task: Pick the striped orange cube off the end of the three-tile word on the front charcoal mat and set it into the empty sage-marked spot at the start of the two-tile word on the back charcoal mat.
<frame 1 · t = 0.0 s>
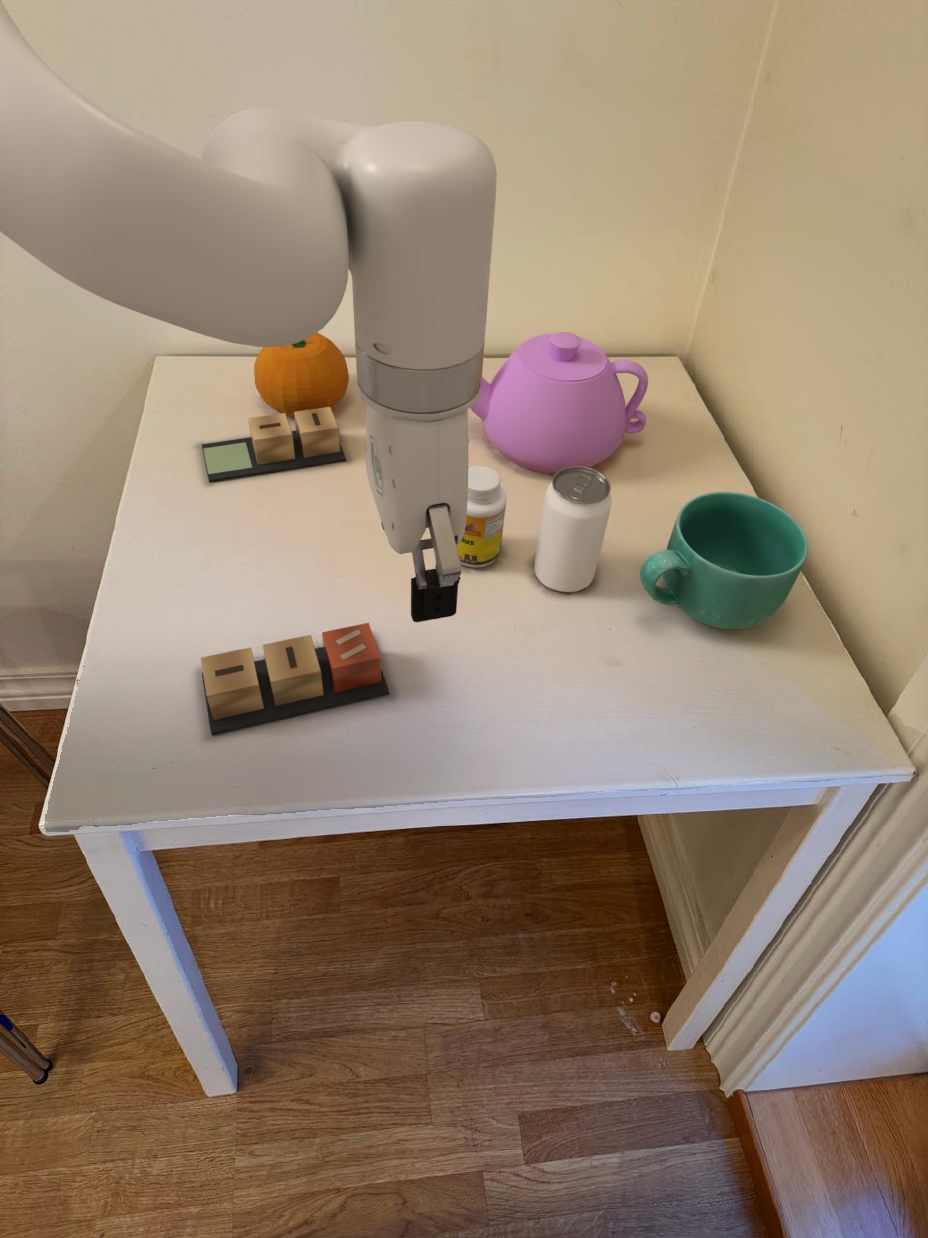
hand: (417, 569, 62), 18 cm above the table, tool pointing down, fingers open, 9 cm apart
fruit: (304, 402, 107), on the table
supplement bottle: (474, 553, 90), on the table
can: (563, 574, 88), on the table
mug: (698, 604, 86), on the table
teapot: (541, 438, 104), on the table
striped orange cube: (352, 669, 77), resting on front mat
front mat: (295, 684, 76), on the table
front tile 1: (235, 695, 75), resting on front mat
back mat: (273, 453, 99), on the table
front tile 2: (295, 682, 76), resting on front mat
pair of dash-marked blocks: (296, 447, 99), resting on back mat
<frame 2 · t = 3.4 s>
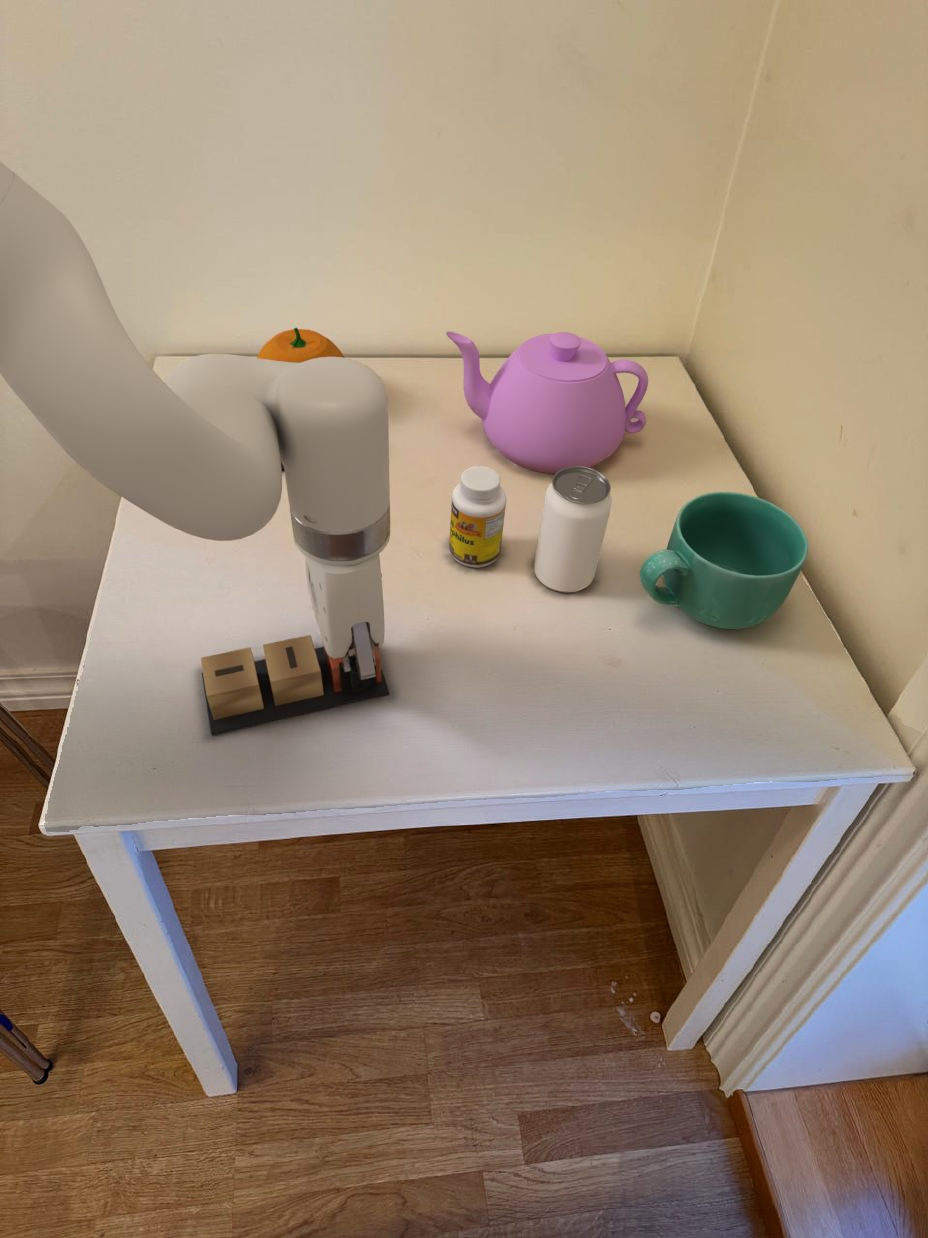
hand: (352, 665, 77), 1 cm above the table, tool pointing down, fingers closed on striped orange cube, 4 cm apart
striped orange cube: (352, 669, 77), resting on front mat, touching gripper
everything else where it was.
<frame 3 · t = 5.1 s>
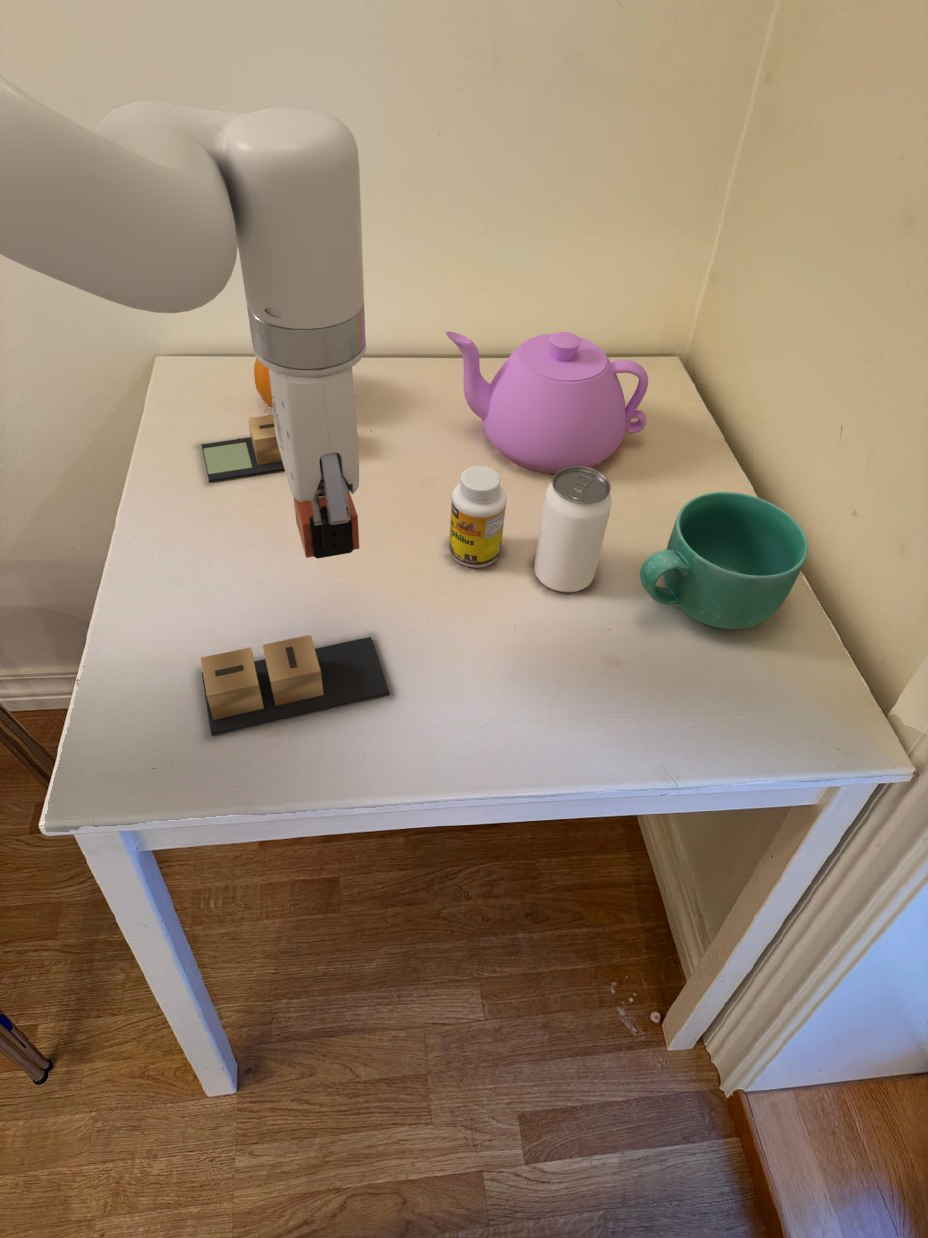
hand: (326, 530, 68), 15 cm above the table, tool pointing down, fingers closed on striped orange cube, 4 cm apart
striped orange cube: (327, 535, 69), point 15 cm above the table, touching gripper
everything else where it was.
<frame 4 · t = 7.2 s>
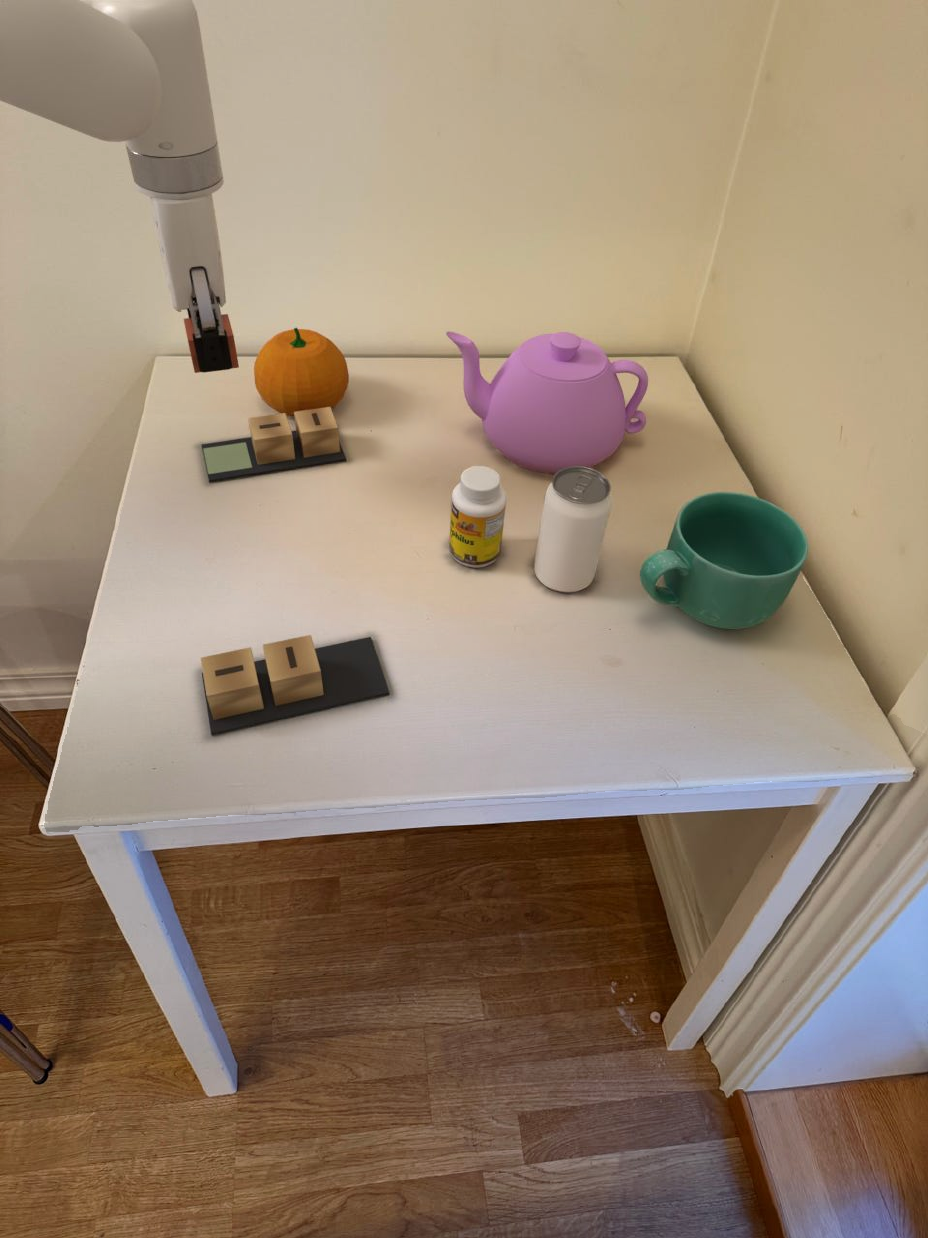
hand: (212, 354, 85), 15 cm above the table, tool pointing down, fingers closed on striped orange cube, 4 cm apart
striped orange cube: (214, 359, 85), point 15 cm above the table, touching gripper
everything else where it was.
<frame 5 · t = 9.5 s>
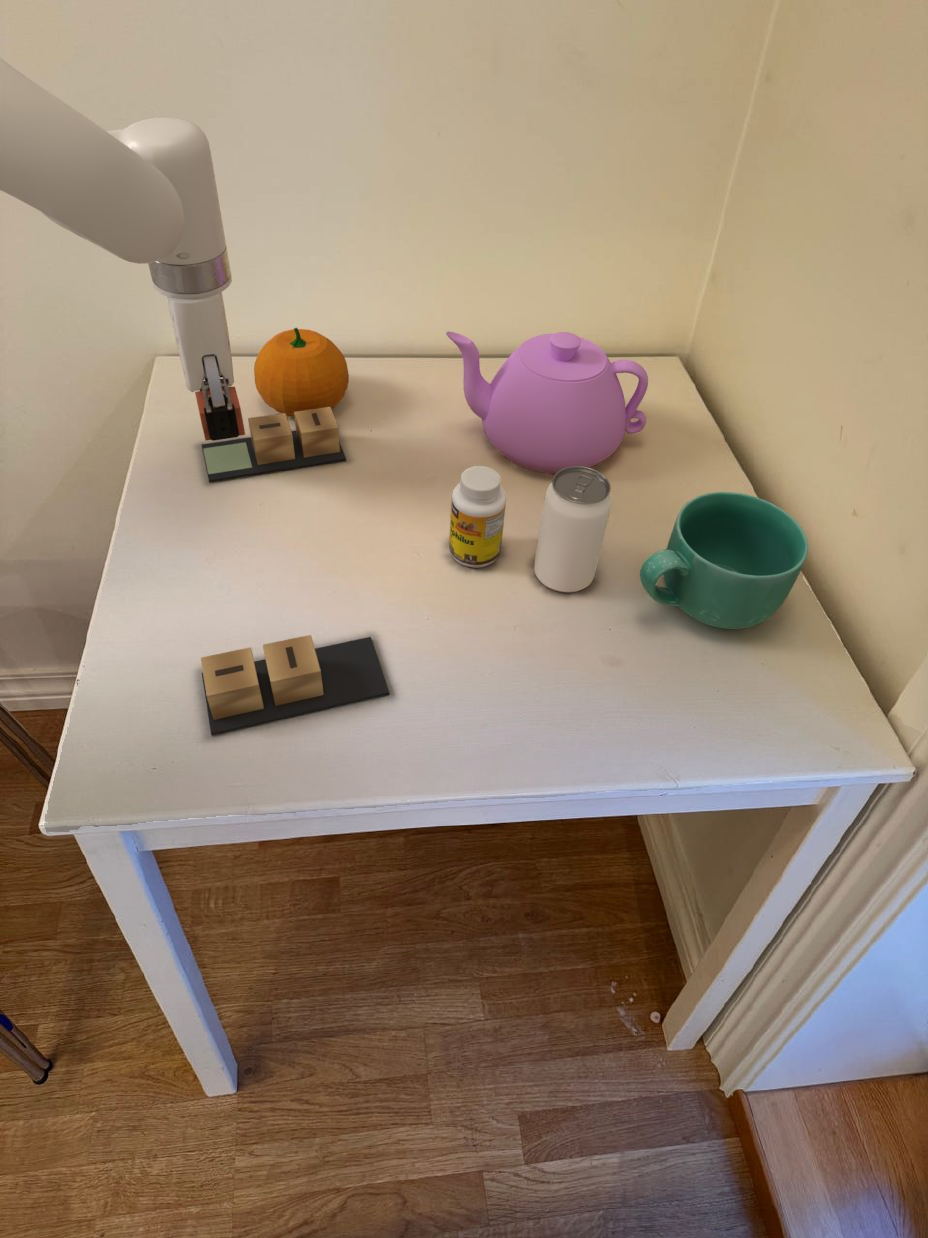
hand: (221, 422, 94), 5 cm above the table, tool pointing down, fingers closed on striped orange cube, 4 cm apart
striped orange cube: (222, 426, 94), point 5 cm above the table, touching gripper
everything else where it was.
when the fingers open (1 cm above the table, at t = 11.0 s): striped orange cube stays where it is, resting on back mat.
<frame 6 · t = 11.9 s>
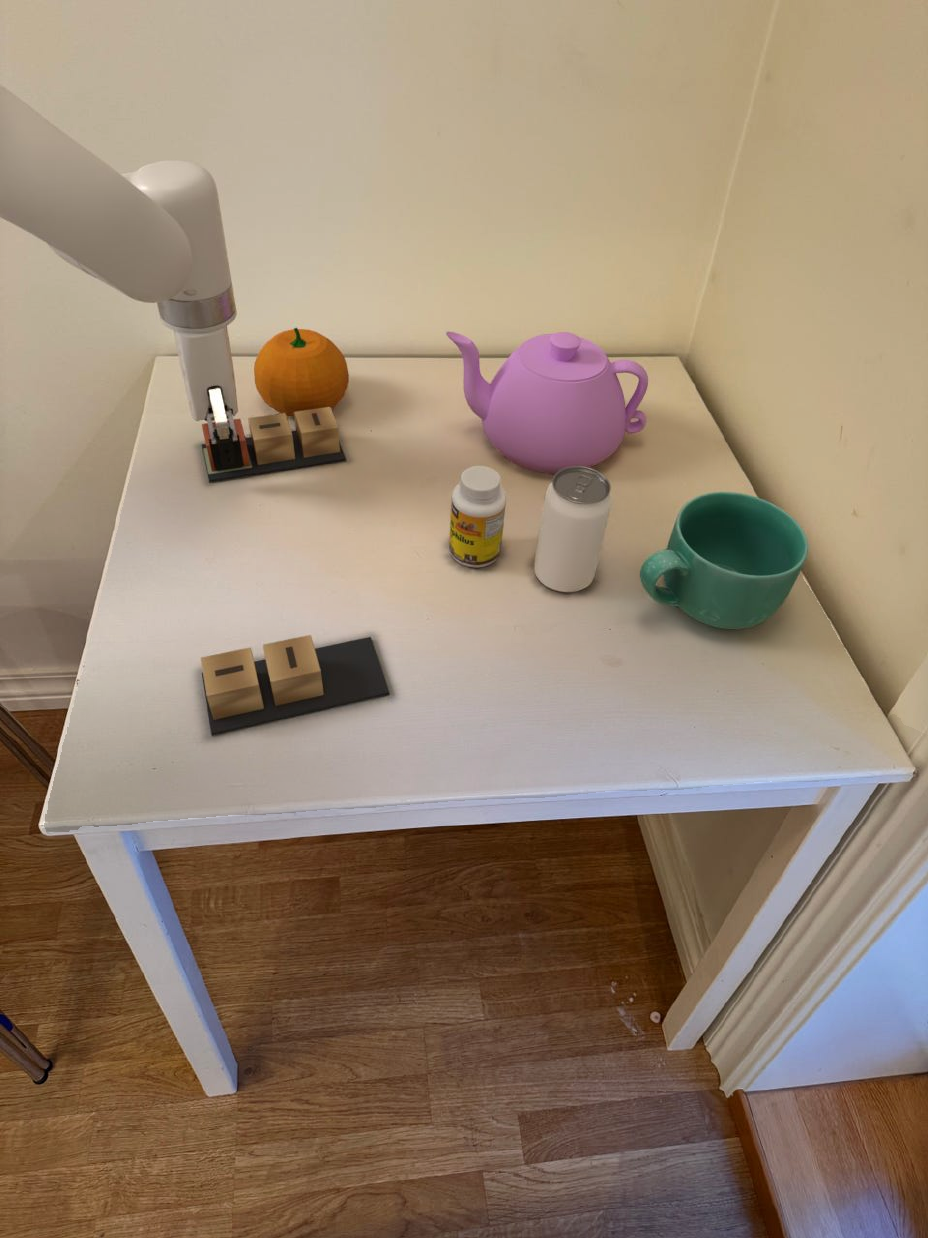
hand: (223, 442, 96), 3 cm above the table, tool pointing down, fingers open, 9 cm apart
striped orange cube: (228, 457, 97), resting on back mat
everything else where it was.
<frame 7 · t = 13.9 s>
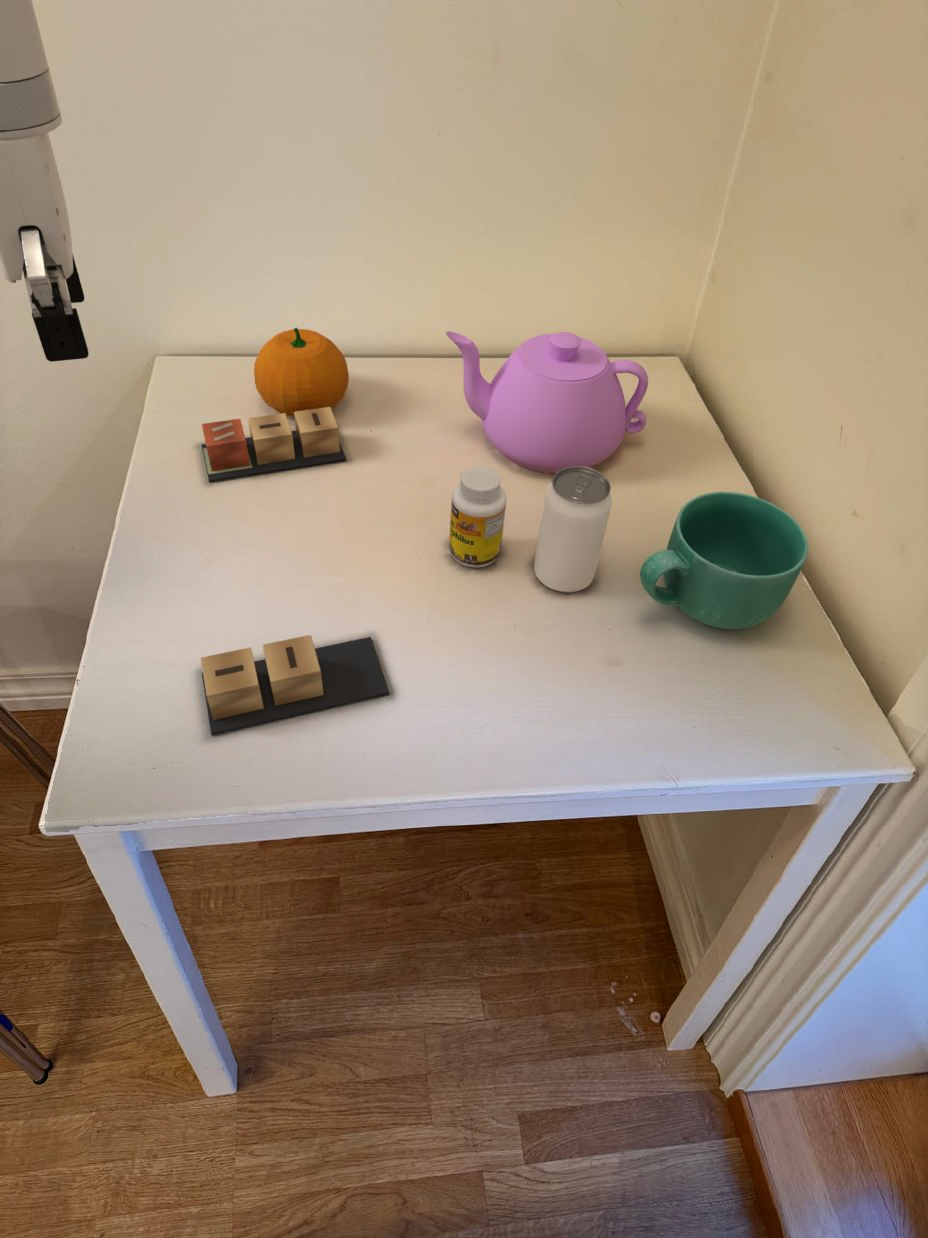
hand: (67, 328, 70), 24 cm above the table, tool pointing down, fingers open, 9 cm apart
nothing on the table moved.
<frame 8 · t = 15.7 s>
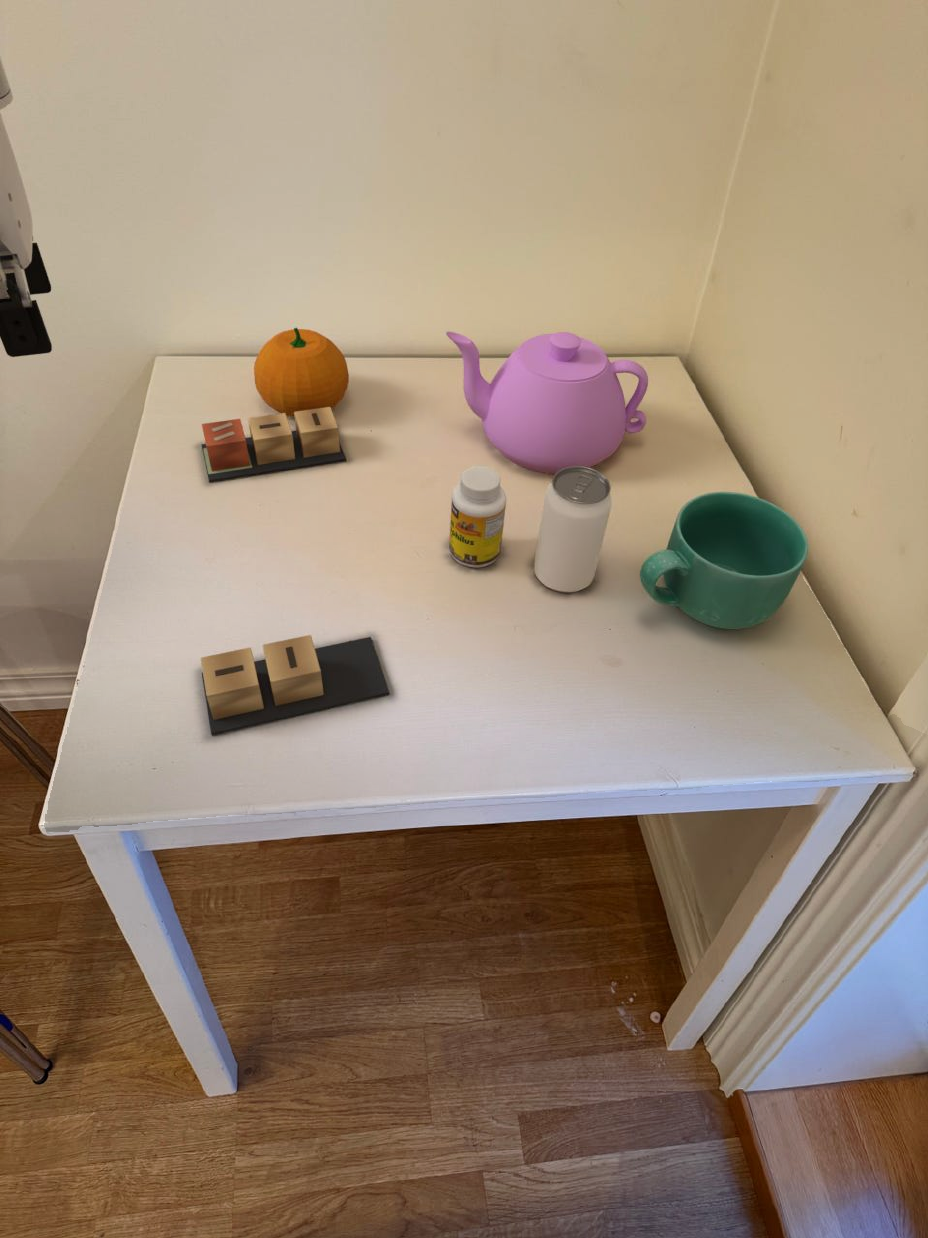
hand: (31, 321, 67), 26 cm above the table, tool pointing down, fingers open, 9 cm apart
nothing on the table moved.
at the end: striped orange cube 0.2 cm from the target spot on the back mat, point 0.5 cm above the back mat's base; striped orange cube tilted 0°; the gripper is holding nothing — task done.
